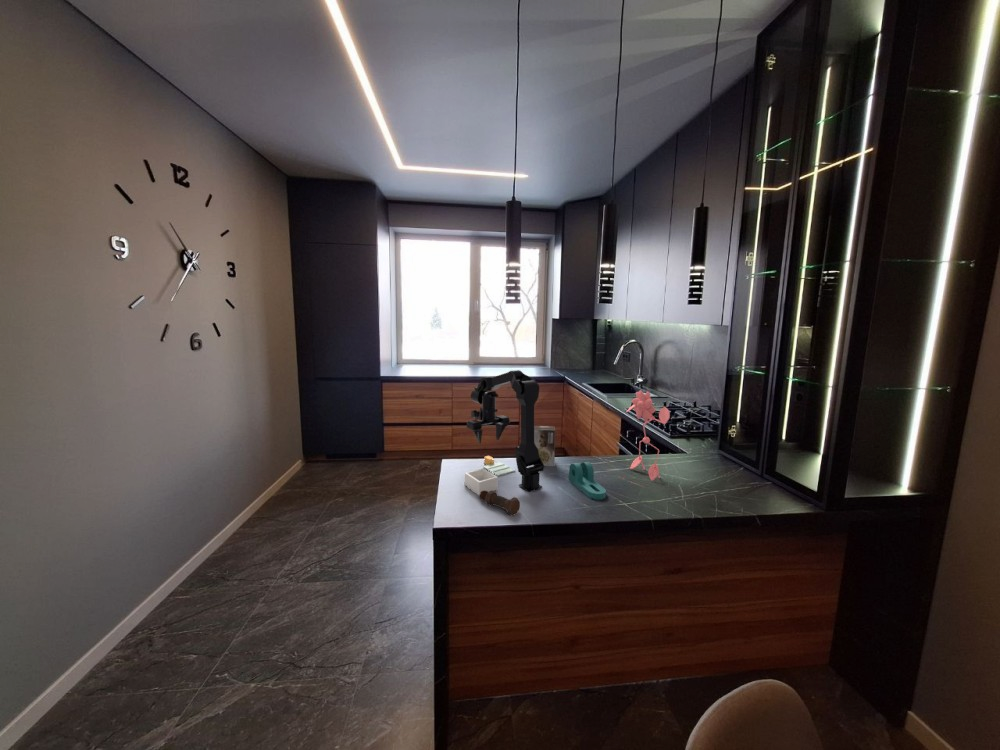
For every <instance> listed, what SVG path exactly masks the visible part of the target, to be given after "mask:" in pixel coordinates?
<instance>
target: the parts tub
mask: <svg viewBox="0 0 1000 750" xmlns="http://www.w3.org/2000/svg"><path fill="white" fill-rule="evenodd" d="M498 479H499V476H496V475H494V474H492V473H491V472H489V471H487V470H486V469H484V468H483V467H482V468H478V469H475V470H471V471H468V472H467V471H466V472H464V486H465V487H466V486H467V487H466V488H467V489H469V490H470V489H471V490H470V491H472V492H473V493H475V494H476V495H477V496H479V495H480V494H481V493H480V492H482V491H488V492H489V491H492V490H493V491H495V490H496V491H498V487H499V486H498V485H499V483H498ZM496 491H495V492H496Z"/></svg>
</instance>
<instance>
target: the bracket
mask: <svg viewBox="0 0 1000 750" xmlns="http://www.w3.org/2000/svg"><path fill="white" fill-rule="evenodd" d="M568 471H569V473H568V480H569V482H570V483H572V484H573V485H574V486H575V487H577V489H579V490H580V491H581V492H582V493H583V494H584V495H585V496H587V497H588V498H590V499H592V498H593V500H604V499H605V498H606V496H607V490H606V489H605V487H603V486H602V485H600V484H599V483H598V482H597V481H596V480H594V474H595V472H594V467H593V465H592V463H591V462H590V461H584V462H581V463H579V462H576V463H575V462H574V463H573V462H572V463H571V464H570V465H569V470H568ZM603 498H604V499H603Z"/></svg>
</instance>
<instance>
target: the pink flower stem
mask: <svg viewBox="0 0 1000 750" xmlns="http://www.w3.org/2000/svg"><path fill="white" fill-rule="evenodd" d="M631 403H632V405H631V406H630V407H629V408H628V409H627V410H626V411H625V413H628V412H631V410H634V412H635V415H636V418H637V420H640V419H642V420H643V421H644V423H643V424H642V428H643V433H644V437H643V438H642V440H640V441H639V445H638V446H639V449H638V457H636V458H635V459H634V460H633V462H632V463H631V464H630V468H629V469H630V470H633V469H635V468H637V467H638V466H639V465H640V464H641V466H642V468H643V470H644V471H645V470H646V468H645V465H644V463H643V457H642V455H641V443H642V442H643V443H644V444H648V445H650V446H651V447H653V448H654V449H655V450H657V454H656V458H655V461H654V463H653V464H651V465H650V466H649V469H648V477H649V479H650V480H651V482H653V481H654V480H655V479H657V478H658V479H661V477H660V471H659V466H658V465H657V462H658V457H659V453H660V449H659V448H657V447H656V446H654V445H653V444H652V443H650V441H651V439H650V438H649V436H647V434H646V433H647V432H646V429H645V425H646V424H648V423H650V422H651V421H656V422H658V423H661V424H662V425H664V426H665V425H666V424H667V422H668V421H669V420H670V415H671V414H670V410H669V408H667V407H666V406H663V408H660V411H659V412H658V418H659V419H656V417H655V416H653V414H654V413H655V412H656V408H655V407H654V406H653V400H652V399H651V394H650V391H646V393H644V392H643V390H641V389H640V390H639V391H636V392H635V398H633V399H632V400H631ZM621 478H622V479H623V480H626V481H628V482H629V480H628V479H626V478H624V477H623V476H621ZM631 483H632V484H634V485H638V486H639V485H640V486H642V484H641V483H636V482H633V481H631ZM643 486H645V487H647V485H645V484H643Z"/></svg>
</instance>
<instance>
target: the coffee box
mask: <svg viewBox="0 0 1000 750" xmlns="http://www.w3.org/2000/svg"><path fill="white" fill-rule="evenodd" d="M534 443H535V445H536V447H537V448H538V451H539V456H540V458H541V460H542V462H543V464H544V466H545V467H555V465H556V464H555V459H556V458H555V454H556V453H555V452H556V450H555V449H556V428H555V425H554V426H553V425H534ZM532 466H534V465H532Z"/></svg>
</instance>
